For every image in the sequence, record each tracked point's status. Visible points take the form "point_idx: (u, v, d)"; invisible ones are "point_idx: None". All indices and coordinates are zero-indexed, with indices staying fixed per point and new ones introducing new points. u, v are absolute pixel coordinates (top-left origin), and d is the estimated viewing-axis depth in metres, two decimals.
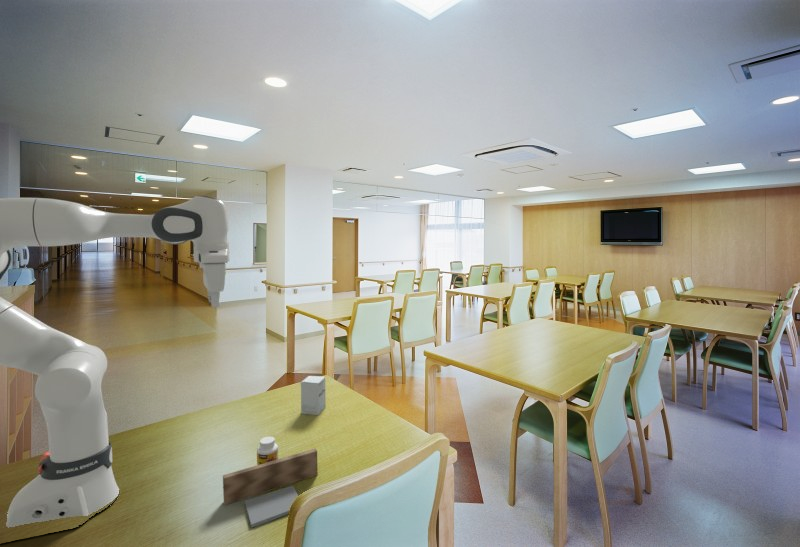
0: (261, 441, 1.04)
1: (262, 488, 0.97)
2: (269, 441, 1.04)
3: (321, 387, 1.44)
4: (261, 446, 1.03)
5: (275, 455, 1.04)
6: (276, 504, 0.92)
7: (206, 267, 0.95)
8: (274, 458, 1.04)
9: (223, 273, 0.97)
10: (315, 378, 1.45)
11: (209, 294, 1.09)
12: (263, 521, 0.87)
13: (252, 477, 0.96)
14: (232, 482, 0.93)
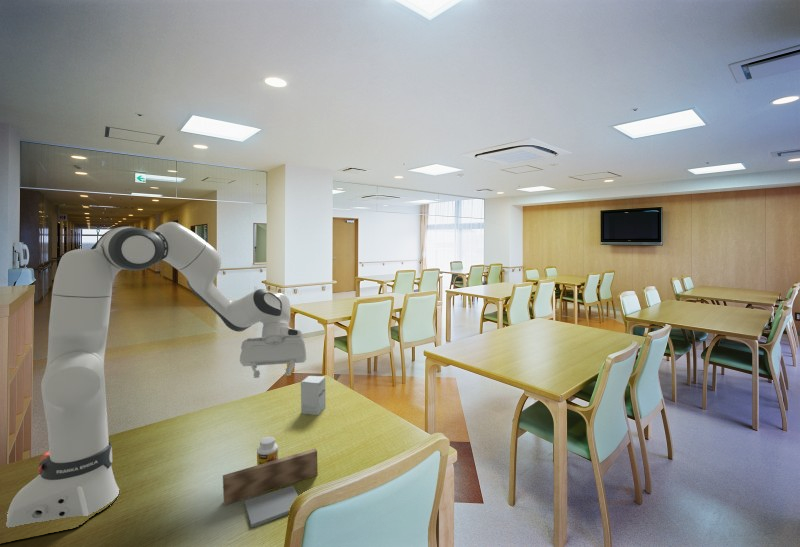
0: (261, 441, 1.04)
1: (262, 488, 0.97)
2: (269, 441, 1.04)
3: (321, 387, 1.44)
4: (261, 446, 1.03)
5: (275, 455, 1.04)
6: (276, 504, 0.92)
7: None
8: (274, 458, 1.04)
9: None
10: (315, 378, 1.45)
11: (255, 369, 1.15)
12: (263, 521, 0.87)
13: (252, 477, 0.96)
14: (232, 482, 0.93)
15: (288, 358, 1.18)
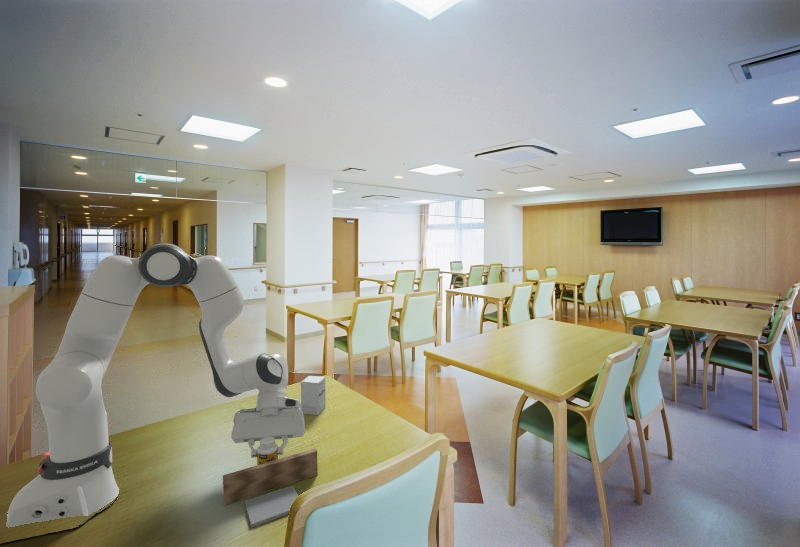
0: (261, 441, 1.04)
1: (262, 488, 0.97)
2: (269, 441, 1.04)
3: (321, 387, 1.44)
4: (261, 446, 1.03)
5: (275, 455, 1.04)
6: (276, 504, 0.92)
7: (301, 411, 1.11)
8: (274, 457, 1.04)
9: None
10: (315, 378, 1.45)
11: None
12: (263, 521, 0.87)
13: (252, 477, 0.96)
14: (232, 482, 0.93)
15: (285, 434, 1.07)
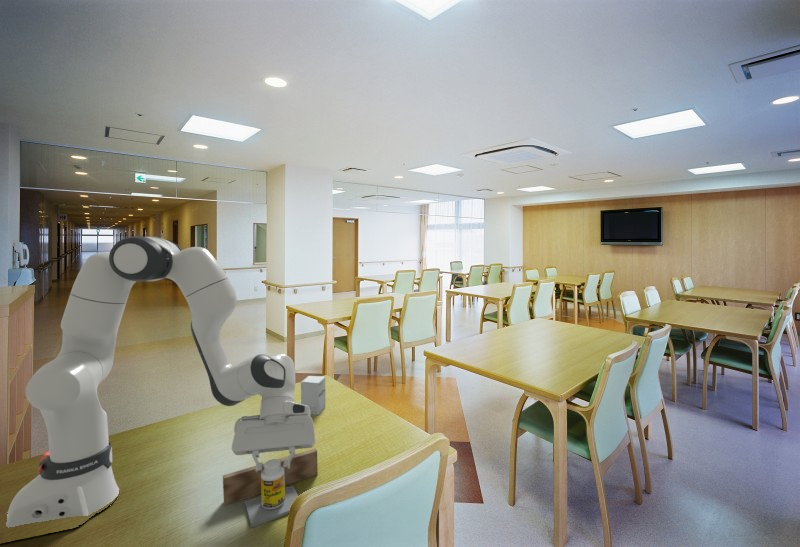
0: (265, 465, 0.91)
1: None
2: (275, 464, 0.91)
3: (321, 387, 1.44)
4: (266, 471, 0.90)
5: (282, 481, 0.91)
6: None
7: (311, 418, 0.98)
8: (281, 484, 0.91)
9: None
10: (315, 378, 1.45)
11: None
12: (263, 521, 0.87)
13: (252, 477, 0.96)
14: (232, 482, 0.93)
15: (293, 445, 0.94)
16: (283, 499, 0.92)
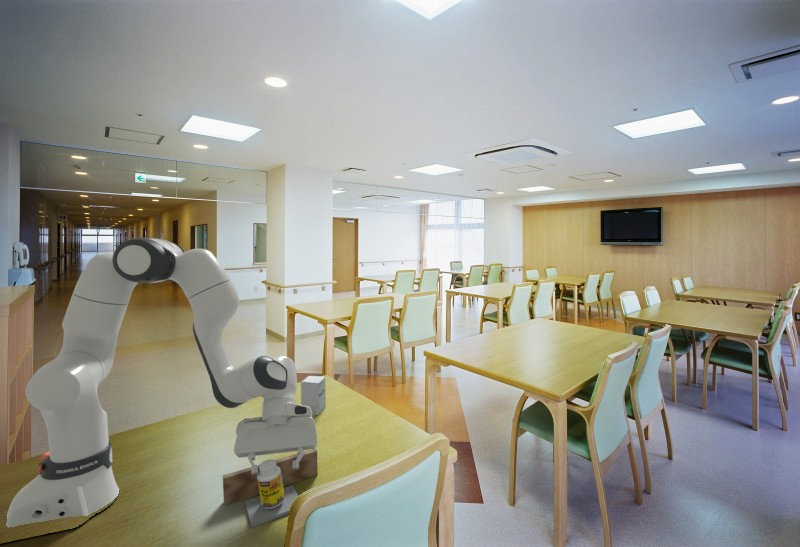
0: (260, 466, 0.90)
1: None
2: (270, 465, 0.91)
3: (321, 387, 1.44)
4: (261, 472, 0.90)
5: (278, 480, 0.91)
6: None
7: (313, 419, 0.98)
8: (278, 483, 0.91)
9: None
10: (315, 378, 1.45)
11: None
12: (263, 521, 0.87)
13: (252, 477, 0.96)
14: (232, 482, 0.93)
15: (295, 446, 0.94)
16: (282, 497, 0.92)
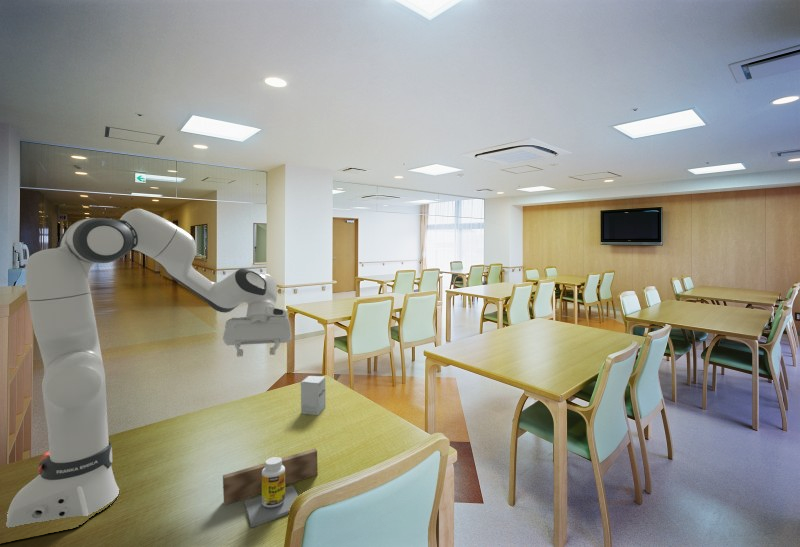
0: (268, 463, 0.91)
1: None
2: (277, 460, 0.93)
3: (321, 387, 1.44)
4: (270, 468, 0.91)
5: (284, 475, 0.93)
6: None
7: (288, 319, 1.20)
8: (284, 478, 0.93)
9: None
10: (315, 378, 1.45)
11: None
12: (263, 521, 0.87)
13: (252, 477, 0.96)
14: (232, 482, 0.93)
15: (273, 337, 1.16)
16: (284, 495, 0.93)
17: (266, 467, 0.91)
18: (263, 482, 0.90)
